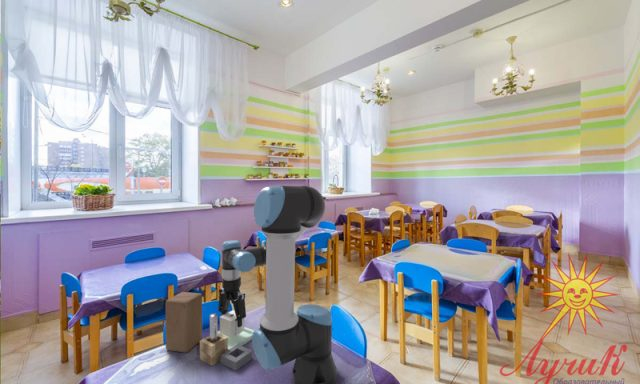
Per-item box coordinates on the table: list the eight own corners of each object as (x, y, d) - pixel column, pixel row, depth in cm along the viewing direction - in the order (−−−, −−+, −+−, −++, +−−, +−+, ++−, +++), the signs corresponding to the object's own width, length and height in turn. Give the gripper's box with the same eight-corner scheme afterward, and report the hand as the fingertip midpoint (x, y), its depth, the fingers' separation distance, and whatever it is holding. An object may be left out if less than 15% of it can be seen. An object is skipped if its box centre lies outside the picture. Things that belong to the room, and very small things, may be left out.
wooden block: (187, 354, 103) (186, 302, 103) (164, 350, 105) (164, 300, 105) (203, 339, 113) (203, 292, 113) (182, 337, 115) (182, 290, 115)
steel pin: (219, 356, 102) (219, 314, 101) (213, 360, 99) (212, 317, 99) (214, 354, 103) (214, 312, 103) (208, 358, 101) (207, 315, 100)
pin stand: (252, 358, 100) (252, 350, 100) (235, 370, 94) (235, 362, 94) (237, 351, 105) (237, 344, 105) (220, 363, 98) (220, 355, 98)
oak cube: (227, 355, 102) (227, 337, 102) (212, 365, 96) (211, 346, 96) (215, 349, 106) (215, 332, 106) (199, 359, 100) (199, 340, 100)
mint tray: (257, 335, 116) (257, 331, 116) (229, 353, 103) (229, 349, 103) (233, 326, 124) (233, 322, 124) (205, 342, 111) (205, 338, 111)
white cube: (244, 330, 115) (244, 313, 115) (231, 338, 109) (230, 321, 109) (233, 325, 118) (233, 310, 118) (219, 333, 113) (219, 316, 112)
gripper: (255, 279, 111) (255, 333, 112) (223, 271, 121) (223, 321, 122) (241, 284, 105) (241, 342, 105) (208, 276, 115) (209, 328, 115)
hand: (231, 331), depth 114 cm, fingers closed on white cube, 7 cm apart
